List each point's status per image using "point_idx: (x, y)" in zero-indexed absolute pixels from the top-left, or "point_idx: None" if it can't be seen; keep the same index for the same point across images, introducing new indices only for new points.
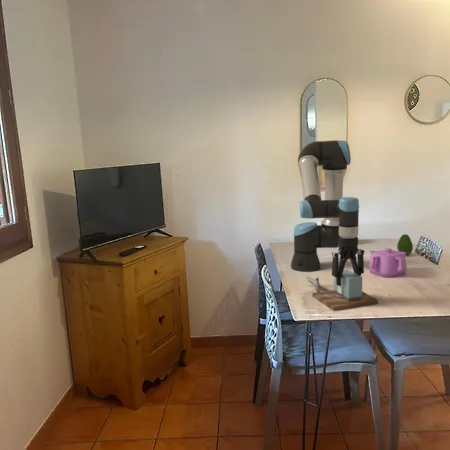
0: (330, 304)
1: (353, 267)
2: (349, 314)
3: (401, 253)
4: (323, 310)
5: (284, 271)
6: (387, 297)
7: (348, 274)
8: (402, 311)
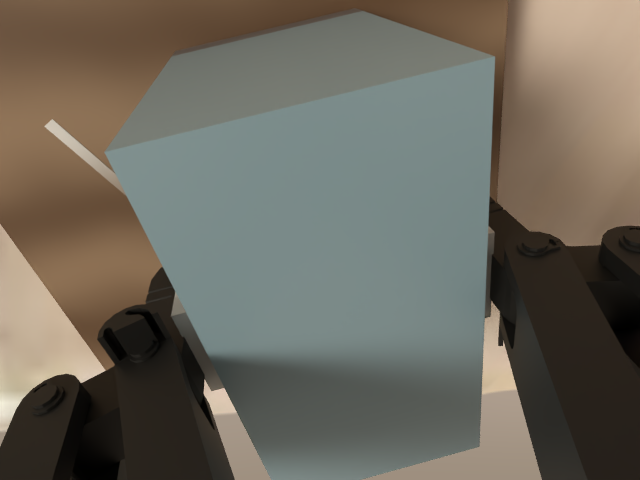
0: (94, 344)
1: (539, 386)
2: (219, 401)
3: None
4: (42, 353)
5: None
6: (625, 157)
7: (350, 370)
8: None
